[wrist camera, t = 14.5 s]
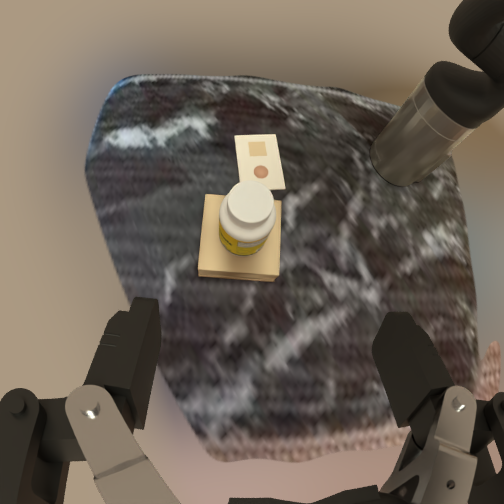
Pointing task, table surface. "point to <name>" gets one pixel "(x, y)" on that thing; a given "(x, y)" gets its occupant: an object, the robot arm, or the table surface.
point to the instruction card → (259, 160)
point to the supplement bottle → (246, 218)
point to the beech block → (231, 266)
